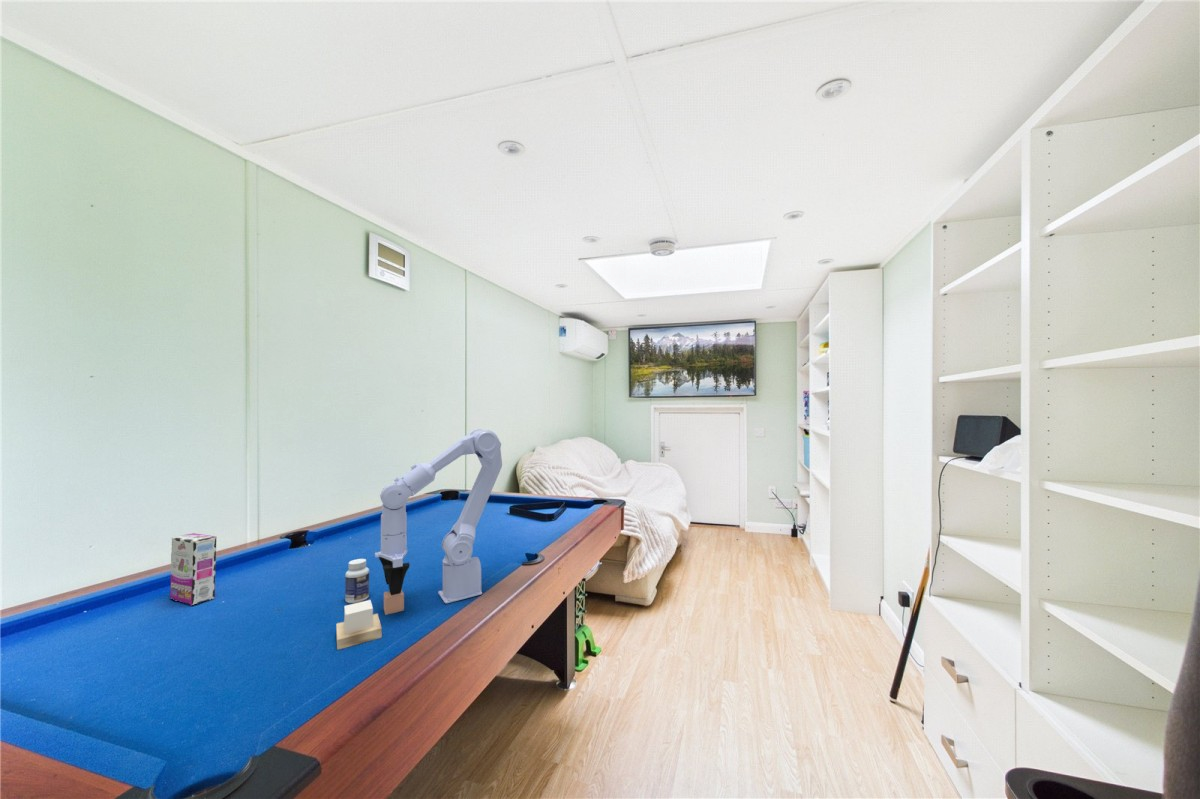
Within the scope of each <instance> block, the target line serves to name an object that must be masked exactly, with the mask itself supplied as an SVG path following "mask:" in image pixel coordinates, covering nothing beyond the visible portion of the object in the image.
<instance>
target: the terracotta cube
mask: <svg viewBox="0 0 1200 799" xmlns="http://www.w3.org/2000/svg"><path fill="white" fill-rule="evenodd" d="M383 610H384V614H385V616H386V615H391V614H395V613H398V612H402V611H405V593H404V591H403V589H402V590H401V593H400V594H396V595H391V594H390V590H389V591H384V592H383Z"/></svg>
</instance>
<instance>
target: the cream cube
mask: <svg viewBox="0 0 1200 799" xmlns="http://www.w3.org/2000/svg"><path fill="white" fill-rule="evenodd" d="M343 613H344V618H343V619H344V620H343V622H344V626H345V634H349V633H353V632H356V631H360V630H364V629H368V628H371V627H373V614H374V607H373V603H372V601H371V599H368V600H363V601H361V602H357V603H350V604H348V605H344V612H343Z"/></svg>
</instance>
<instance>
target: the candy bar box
mask: <svg viewBox="0 0 1200 799" xmlns="http://www.w3.org/2000/svg"><path fill="white" fill-rule="evenodd" d="M216 557H217V536H215V535H214V536H213V535H208V534H207V535H206V534H203V533H202V534H201V533H195V532H193V533H187V534H184V535H179V536H174V537H171V555H170V562H171V563H170V584H169V585H170V587H169V588H170V590H169V599H170V598H172V599H174V600H177V601H181V602H183V603H182V604H184V603H187V604H186V605H188V604H190V605H189V606H192V605H194V604H197V605H199V604H198V603H200V604H202V603H201V602H203V603H205V602H204V601H206V602H209V601H212V600H214V599H215V598H216V564H217V558H216ZM211 599H212V600H211ZM208 600H209V601H208ZM194 606H195V605H194Z"/></svg>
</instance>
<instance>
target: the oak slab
mask: <svg viewBox="0 0 1200 799" xmlns="http://www.w3.org/2000/svg"><path fill="white" fill-rule="evenodd" d="M335 630H336V632H335V633H336V634H335V635H336V637H335V638H336V650H338V651H339V650H342V649H347V648H349V647H353V646H357V645H359V644H364V643H366V642H367V643H368V642H370V641H375V640H377V639H381V638H382V635H383V634H382V630H383V629H382V625H381V621H380V618H379V613H373V627H371V628H368V629H364V630H360V631H356V632H353V633H349V634H345V626H344V621H341V622H337V623H336V626H335Z"/></svg>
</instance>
